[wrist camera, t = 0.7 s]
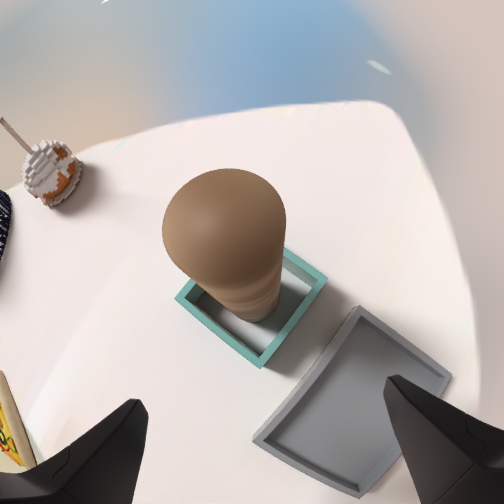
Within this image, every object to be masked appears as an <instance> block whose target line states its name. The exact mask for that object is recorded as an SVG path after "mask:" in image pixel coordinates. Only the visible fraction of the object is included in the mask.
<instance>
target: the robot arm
mask: <svg viewBox="0 0 504 504" xmlns="http://www.w3.org/2000/svg"><path fill="white" fill-rule="evenodd" d="M383 397H384V400H385V404H386V407H387V411H388V414H389V418H390V421H391V425H392V428H393V431H394V434H395V436H396V438H397V441H398V443H399V446H400V448H401V451H402V453H403V456H404V458H405V461H406V463H407V466H408V469H409V471H410V474H411V477H412V479H413V482H414V485H415V488H416V490H417V493H418V496H419V499H420V502H421V504H504V430H501V429H499V428H496V427H493V426H491V425H489V424H486V423H484V422H482V421H480V420H478V419H476V418H474V417H472V416H470V415H469V414H466V413H465V412H463V411H461V410H459V409H458V408H456V407H454V406H452V405H451V404H449V403H447V402H445V401H444V400H442V399H440V398H438V397H437V396H435V395H433V394H431V393H430V392H428V391H426V390H424V389H423V388H421V387H419V386H418V385H416V384H414V383H413V382H411V381H409V380H407V379H406V378H404V377H402V376H401V375H399V374H394V375H391V376H388V377H387V379H386V382H385V387H384V391H383ZM148 418H149V417H148V412H147V411H146V409H145V407H144V405H143V403H142V401H141V400H139V399H129V400H127V401H126V402H125V403H124V404H122V405H121V406H120V407H119V408H117V409H116V410H115V411H113V412H112V413H111V414H110V415H108V416H107V417H106V418H104V419H103V420H102V421H101V422H99V423H98V424H97V425H95V426H94V427H93V428H91V429H90V430H89V431H87V432H86V433H85V434H83V435H82V436H81V437H79V438H78V439H77V440H75V441H74V442H73V443H71V444H70V446H67V447H66V448H64V449H63V450H62V451H60V452H59V453H57V454H56V455H54V456H53V457H51V458H49V459H48V460H46V461H44V462H42V463H41V464H39V465H37V466H35V467H33V468H31V469H29V470H28V471H25V472H23V473H17V474H16V473H15V474H14V473H4V472H0V504H132V500H133V496H134V491H135V487H136V482H137V478H138V474H139V470H140V465H141V461H142V457H143V453H144V448H145V441H146V433H147V426H148Z"/></svg>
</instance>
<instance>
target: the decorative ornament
mask: <svg viewBox="0 0 504 504" xmlns="http://www.w3.org/2000/svg"><path fill="white" fill-rule="evenodd" d="M0 123H1V124H2V125H3V126H4V127H5V129H6V130H7V131H8V132H9V133H10V134H11V135H12V136H13V137H14V138H15V139H16V140H17V141H18V142H19V144H20V145H21V146H22V147H23V148H24V149H25V150H26V151H27V152H28V153H27V154H26V155H25V158H26V161H25V162H24V163H23V164H22V167H23V170H22V173H23V175H22V179H23V181H24V186H25V188H26V190H27V191H28V192H29V193H30V194H32V195H33V196H34V197H35V198H38V197H39V198H41V200H42V202H43V203H44V205H45V206H47V205H48V204H49V205H50V206H52V205H53V204H54V205H56V203H58V204H59V203H60V202H61V201H62V199H63V198H64V199H66V198H67V197H68V196H69V194H70V193H71V192H72V191H73V190H74V188H75V187H76V186H75V184H76V183H77V181H78V180H79V179H80V178H79V176H80V175H81V173H80V171H81V170H82V169H81V167H80V165H81V164H82V163H81V162H80V161H79V160H78V159H77V158H76V157H75V156H74V157H73V158H71V156H70V155H71V154H72V152H71V150H70V149H69V148H68V147H67V146H66V145H65V144H64V143H63V142H61V143H58V142H57V141H56V140H54V141H52V142H51V141H50V140H49V139H48V140H47V141H46V142H45V140H43V141H42V142H41V143H40V144H39V145H37V144H35V145H34V146H33V147H32V148H30V147H29V146H28V145H27V144H26V143H25V142H24V141H23V140H22V139H21V138H20V136H19V135H18V134H17V133H16V132H15V131H14V130H13V129H12V128H11V127H10V125H9V124H8V123H7V122H6V121H5V120H4V119H3V117H0Z"/></svg>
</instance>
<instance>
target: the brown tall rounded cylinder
mask: <svg viewBox="0 0 504 504" xmlns="http://www.w3.org/2000/svg"><path fill="white" fill-rule="evenodd" d="M285 230H286V214H285V208H284V205H283V202H282V200H281V198H280V196H279V194H278V193H277V191H276V190H275V189H274V188H273V186H272V185H271V184H269V183H268V182H267V181H266V180H265V179H263V178H262V177H260V176H258V175H256V174H254V173H251V172H248V171H245V170H240V169H218V170H213V171H209V172H206V173H204V174H201V175H199V176H197V177H195V178H194V179H192V180H190V181H189V182H188V183H186V184H185V185H184V186H183V187H182V188H181V189H180V190H179V191H178V192H177V193H176V194H175V195H174V197H173V198H172V200H171V201H170V203H169V205H168V207H167V209H166V212H165V215H164V219H163V225H162V236H163V242H164V246H165V248H166V251H167V253H168V255H169V257H170V258H171V260H172V261H173V262H174V264H175V265H176V266H177V267H178V268H179V269H181V270H182V271H183V272H184V273H185V274H186V275H187V276H189V277H190V278H191V279H192V280H193V281H195V282H196V283H197V284H198V285H199V286H200V287H202V288H203V289H204V290H205V291H206V292H208V293H209V294H210V295H211V296H213V297H214V298H215V299H216V300H217V301H219V302H220V303H221V304H222V305H224V306H225V307H226V308H227V309H228V310H230V311H231V312H232V313H233V314H235V315H236V316H237V317H239V318H240V319H242V320H245V321H249V322H257V321H261V320H264V319H266V318H267V317H269V316H270V315H271V314H272V313H273V312H274V310H275V309H276V307H277V304H278V299H279V290H280V281H281V271H282V261H283V251H284V241H285Z"/></svg>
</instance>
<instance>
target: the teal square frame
mask: <svg viewBox="0 0 504 504" xmlns="http://www.w3.org/2000/svg"><path fill="white" fill-rule="evenodd" d="M282 266H283V267H284V268H285V269H287V270H288V271H290V272H291V273H292V274H294V275H295V276H297V277H298V278H299V279H301V280H302V281H304V282H305V283H306V284H308V285H309V286H311V287H312V289H311V291H310V292H309V293H308V295H307V296H306V297H305V299H304V300H303V302H302V303H301V304H300V306H299V307H298V308H297V310H296V311H295V312H294V314H293V315H292V316H291V318H290V319H289V320H288V322H287V323H286V324H285V326H284V327H283V328H282V330H281V331H280V332H279V333H278V335H277V336H276V337H275V339H274V340H273V341H272V342H271V344H270V345H269V346H268V347H267V349H266V350H265V351H264V352H263V354H262V355H261V356H259V355H258V354H257V353H255V352H254V351H253V350H251V349H250V348H249V347H247V346H246V345H245V344H244V343H242V342H241V341H240V340H238V339H237V338H236V337H235V336H233V335H232V334H231V333H230V332H228V331H227V330H226V329H225V328H223V327H222V326H221V325H220V324H218V323H217V322H216V321H215V320H214V319H212V318H211V317H210V316H209V315H208V314H206V313H205V312H204V311H203V310H202V309H200V308H199V307H198V306H197V305H196V304H195V302H196V301H197V300H198V299H199V297H200V296H201V295H202V294H203V293H204V291H205V290H204V289H203V288H202V287H200V286H199V285H198V284H197V283H196V282H195V281H193V280H192V279H190V280H189V281H188V282H187V284H186V285H185V286H184V287H183V288H182V290H181V291H180V292H179V293H178V295H177V296H176V297H175V298H174V299H175V300H176V301H177V302H178V303H180V304H181V305H182V306H183V307H184V308H185V309H186V310H187V311H189V312H190V313H191V314H192V315H193V316H194V317H195V318H197V319H198V320H199V321H200V322H201V323H202V324H204V325H205V326H206V327H207V328H208V329H210V330H211V331H212V332H213V333H214V334H216V335H217V336H218V337H219V338H220V339H222V340H223V341H224V342H225V343H227V344H228V345H229V346H230V347H232V348H233V349H234V350H235V351H237V352H238V353H239V354H241V355H242V356H243V357H244V358H246V359H247V360H248V361H250V362H251V363H252V364H254V365H255V366H256V367H258V368H259V369H261V368H262V366H263V365H264V364H265V363H266V362H267V360H268V359H269V358H270V357H271V355H272V354H273V353H274V352H275V350H276V349H277V348H278V346H279V345H280V344H281V343H282V341H283V340H284V339H285V337H286V336H287V335H288V334H289V332H290V331H291V330H292V328H293V327H294V326H295V324H296V323H297V322H298V320H299V319H300V318H301V316H302V315H303V314H304V312H305V311H306V309H307V308H308V307H309V305H310V304H311V303H312V301H313V300H314V298H315V297H316V296H317V294H318V293H319V291H320V290H321V288H322V287H323V286H324V284H325V283H326V281H327V280H328V278H327V277H326V276H325V275H323V274H322V273H320V272H319V271H318V270H316V269H315V268H313V267H312V266H311V265H309V264H308V263H306V262H305V261H303V260H302V259H301V258H299V257H298V256H296V255H295V254H293V253H292V252H291V251H289V250H288V249H286V248H285V247H284V251H283V261H282Z"/></svg>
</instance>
